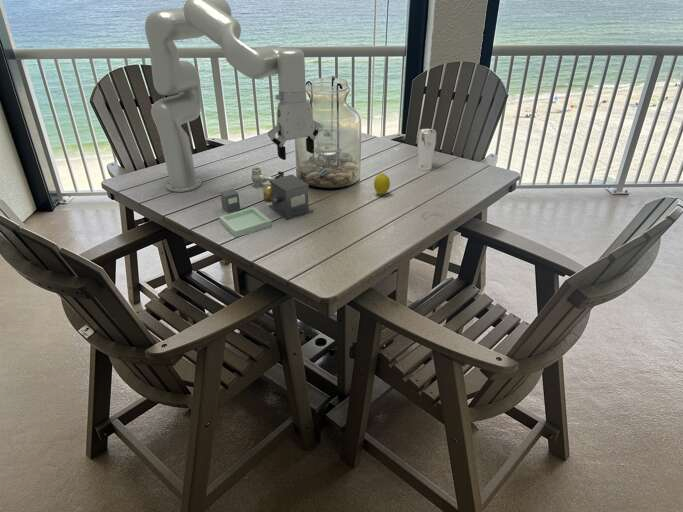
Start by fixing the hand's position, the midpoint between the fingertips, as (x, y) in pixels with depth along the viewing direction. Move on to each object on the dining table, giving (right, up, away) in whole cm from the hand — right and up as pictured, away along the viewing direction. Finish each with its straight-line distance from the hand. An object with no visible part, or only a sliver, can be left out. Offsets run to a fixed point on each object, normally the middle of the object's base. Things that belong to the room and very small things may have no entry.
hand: (296, 155), depth 137 cm
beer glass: (+47, +5, +47) cm, 67 cm away
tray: (-17, -20, +6) cm, 27 cm away
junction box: (-3, -15, +15) cm, 21 cm away
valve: (-14, -5, +31) cm, 35 cm away
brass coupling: (-11, -11, +22) cm, 27 cm away
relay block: (-23, -15, +15) cm, 32 cm away
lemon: (+28, -9, +25) cm, 38 cm away
